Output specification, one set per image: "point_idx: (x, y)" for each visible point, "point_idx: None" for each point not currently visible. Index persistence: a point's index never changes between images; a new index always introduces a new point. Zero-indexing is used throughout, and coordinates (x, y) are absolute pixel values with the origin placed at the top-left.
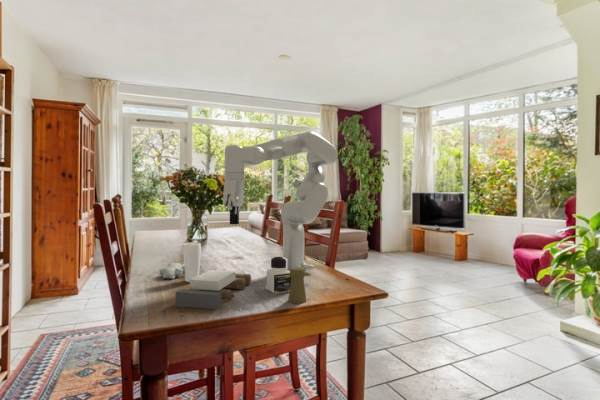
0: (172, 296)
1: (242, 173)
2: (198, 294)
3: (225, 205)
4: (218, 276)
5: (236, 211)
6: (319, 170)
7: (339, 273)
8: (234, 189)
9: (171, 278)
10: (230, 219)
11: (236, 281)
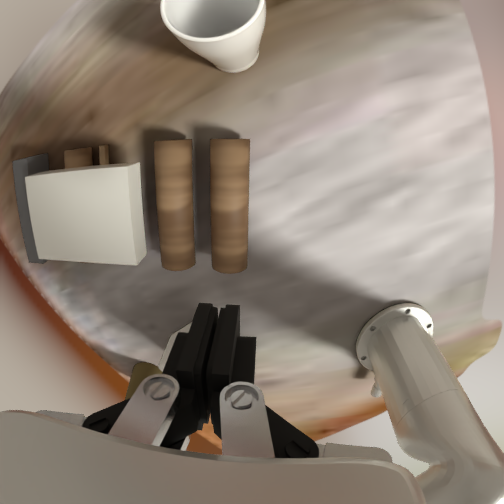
0: (78, 98)
1: None
2: (21, 218)
3: (52, 426)
4: (69, 238)
5: (173, 447)
6: None
7: (373, 416)
8: None
9: None
10: (190, 334)
11: (160, 249)
